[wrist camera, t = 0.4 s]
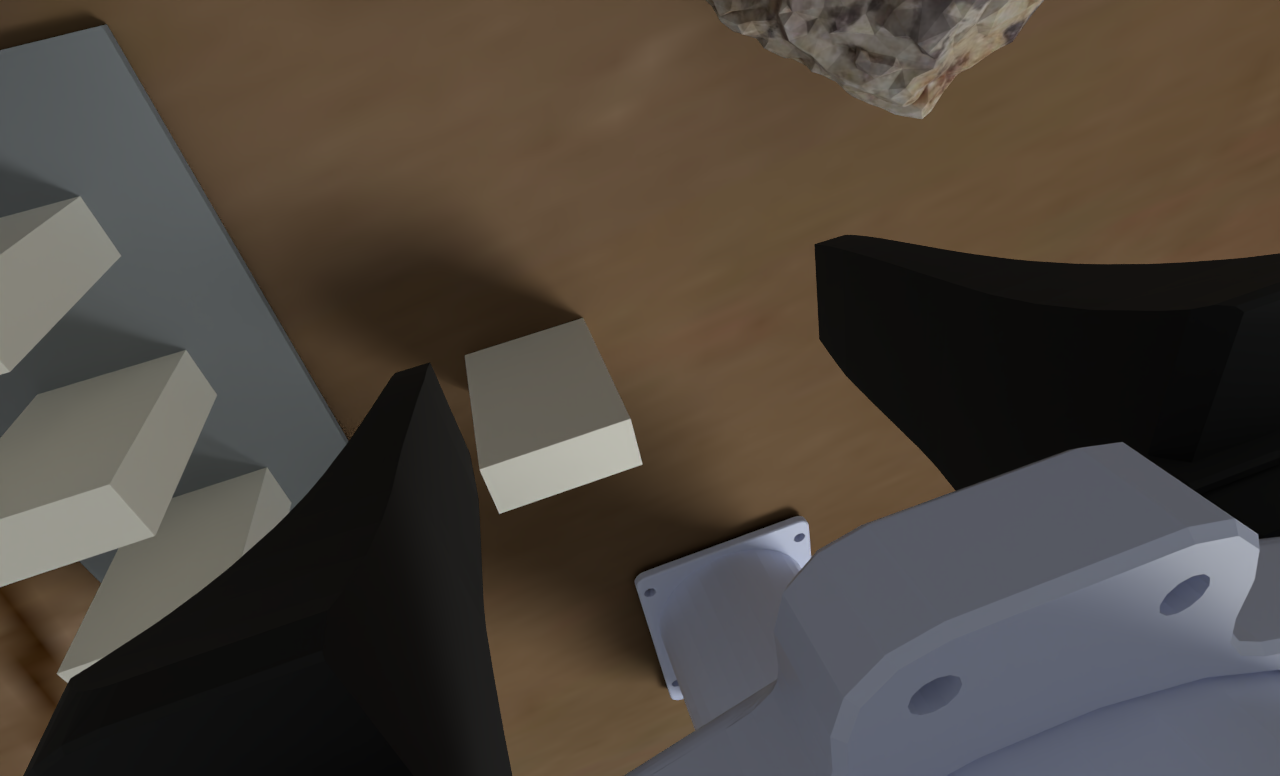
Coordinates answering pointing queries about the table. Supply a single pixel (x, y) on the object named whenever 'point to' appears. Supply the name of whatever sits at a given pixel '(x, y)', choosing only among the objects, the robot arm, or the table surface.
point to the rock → (882, 41)
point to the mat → (151, 269)
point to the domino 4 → (547, 416)
